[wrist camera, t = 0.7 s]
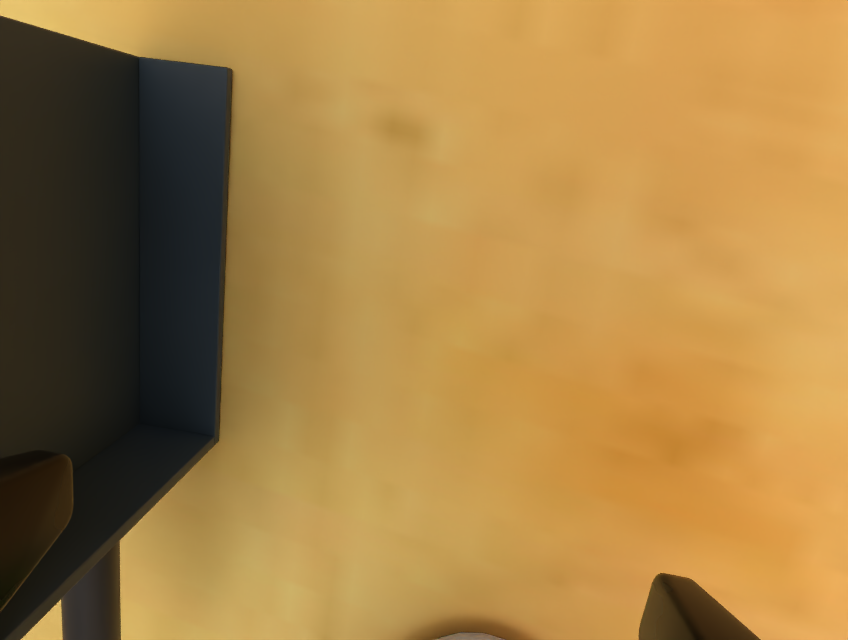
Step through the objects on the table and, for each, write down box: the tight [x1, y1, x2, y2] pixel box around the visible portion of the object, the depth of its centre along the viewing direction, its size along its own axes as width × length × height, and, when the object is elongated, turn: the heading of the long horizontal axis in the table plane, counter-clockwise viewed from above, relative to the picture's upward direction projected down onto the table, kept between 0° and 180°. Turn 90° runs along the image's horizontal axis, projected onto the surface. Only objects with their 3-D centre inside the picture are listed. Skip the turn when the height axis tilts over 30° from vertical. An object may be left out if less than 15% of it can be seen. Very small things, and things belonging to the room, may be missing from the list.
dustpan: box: [0, 16, 232, 640], centre depth 17 cm, size 3×20×11 cm, turn 173°
